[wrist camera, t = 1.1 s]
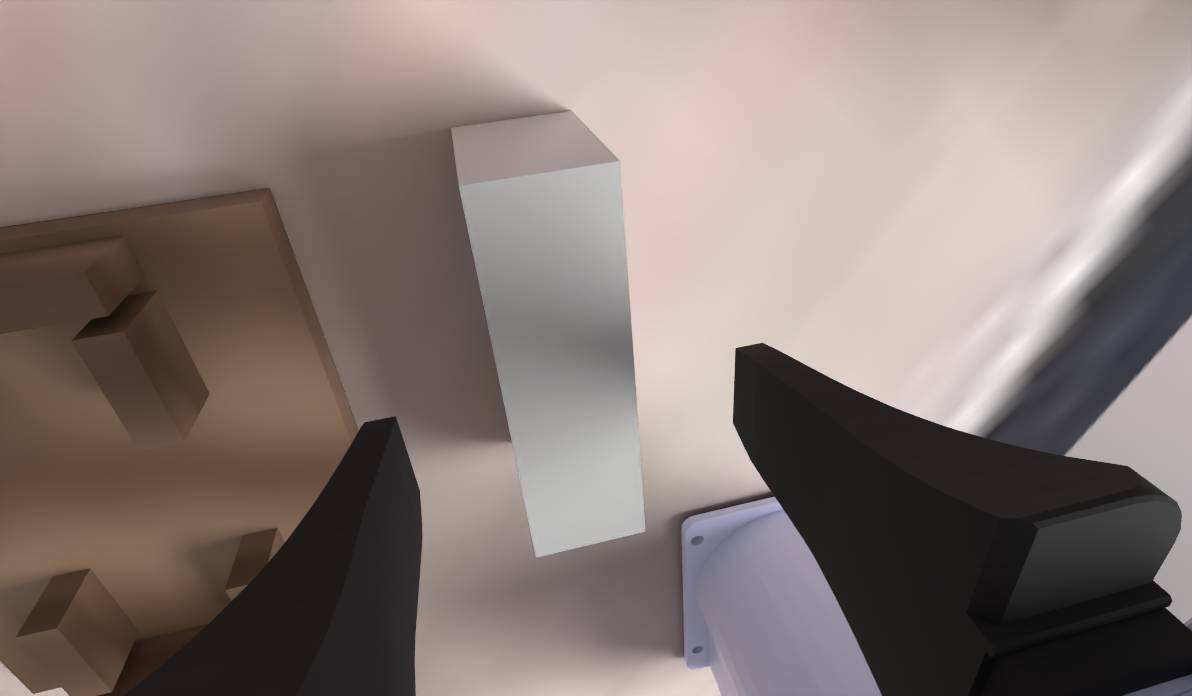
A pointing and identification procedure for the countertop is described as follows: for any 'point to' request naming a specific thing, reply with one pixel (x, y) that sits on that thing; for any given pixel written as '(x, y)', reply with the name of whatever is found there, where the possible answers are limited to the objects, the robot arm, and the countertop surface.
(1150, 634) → the robot arm
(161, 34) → the countertop surface
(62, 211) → the countertop surface
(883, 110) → the countertop surface
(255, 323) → the rack
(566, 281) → the light gray block
